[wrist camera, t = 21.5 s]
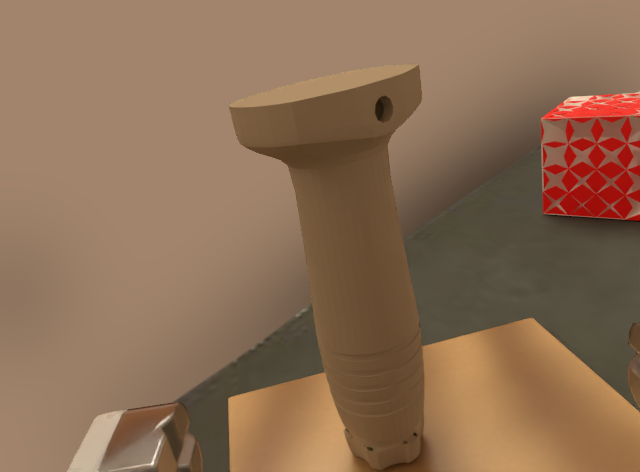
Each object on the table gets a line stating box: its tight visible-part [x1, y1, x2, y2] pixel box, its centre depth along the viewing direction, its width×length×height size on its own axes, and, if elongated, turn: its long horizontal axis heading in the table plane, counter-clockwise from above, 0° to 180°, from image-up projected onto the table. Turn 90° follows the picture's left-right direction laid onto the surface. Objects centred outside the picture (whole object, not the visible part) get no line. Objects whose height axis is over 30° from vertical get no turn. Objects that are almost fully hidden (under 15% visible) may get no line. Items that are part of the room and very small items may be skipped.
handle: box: [229, 64, 425, 470], centre depth 20 cm, size 5×6×15 cm
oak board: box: [228, 318, 640, 472], centre depth 23 cm, size 17×12×1 cm
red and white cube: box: [541, 93, 640, 221], centre depth 42 cm, size 8×8×8 cm
